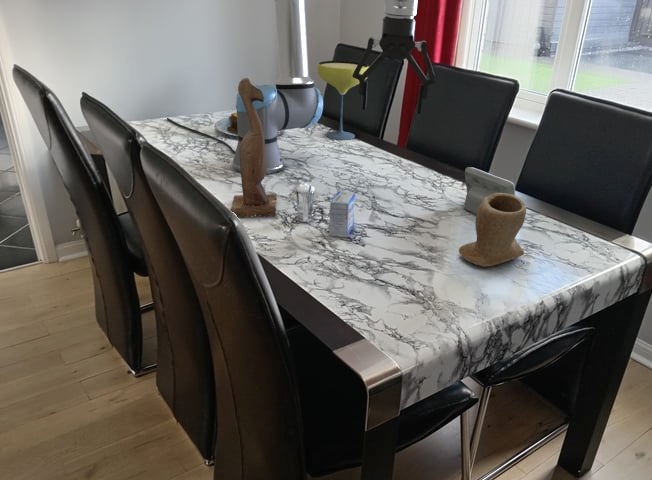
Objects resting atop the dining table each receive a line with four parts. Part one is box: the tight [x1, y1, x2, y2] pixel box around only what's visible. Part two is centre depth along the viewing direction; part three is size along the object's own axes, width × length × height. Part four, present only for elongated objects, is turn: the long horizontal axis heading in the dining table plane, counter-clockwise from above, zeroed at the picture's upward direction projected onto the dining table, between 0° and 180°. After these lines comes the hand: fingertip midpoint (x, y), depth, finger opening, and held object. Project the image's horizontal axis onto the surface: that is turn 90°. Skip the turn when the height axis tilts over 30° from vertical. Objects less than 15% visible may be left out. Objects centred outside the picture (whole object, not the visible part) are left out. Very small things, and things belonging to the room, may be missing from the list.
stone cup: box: [458, 193, 527, 267], centre depth 125 cm, size 15×12×15 cm
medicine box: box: [329, 190, 356, 239], centre depth 136 cm, size 8×4×9 cm, turn 168°
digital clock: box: [463, 166, 516, 215], centre depth 152 cm, size 16×9×11 cm, turn 26°
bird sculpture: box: [230, 77, 278, 219], centre depth 139 cm, size 11×12×32 cm
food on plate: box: [214, 112, 282, 137], centre depth 211 cm, size 25×25×7 cm
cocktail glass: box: [317, 60, 370, 141], centre depth 208 cm, size 18×18×25 cm
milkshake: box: [295, 183, 316, 223], centre depth 140 cm, size 4×5×10 cm
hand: (391, 110), depth 143 cm, fingers open, 13 cm apart
